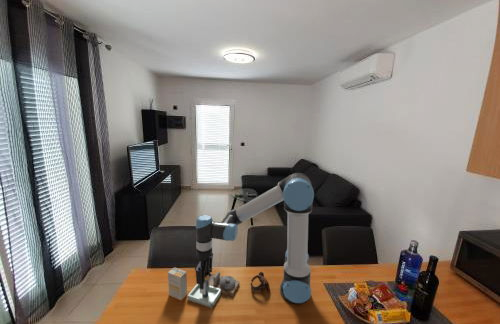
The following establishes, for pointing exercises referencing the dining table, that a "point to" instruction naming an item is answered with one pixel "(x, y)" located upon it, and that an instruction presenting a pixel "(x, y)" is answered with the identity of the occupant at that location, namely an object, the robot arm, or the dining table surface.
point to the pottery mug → (262, 280)
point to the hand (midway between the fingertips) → (204, 290)
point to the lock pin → (206, 285)
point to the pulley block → (224, 283)
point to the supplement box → (177, 283)
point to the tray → (198, 298)
